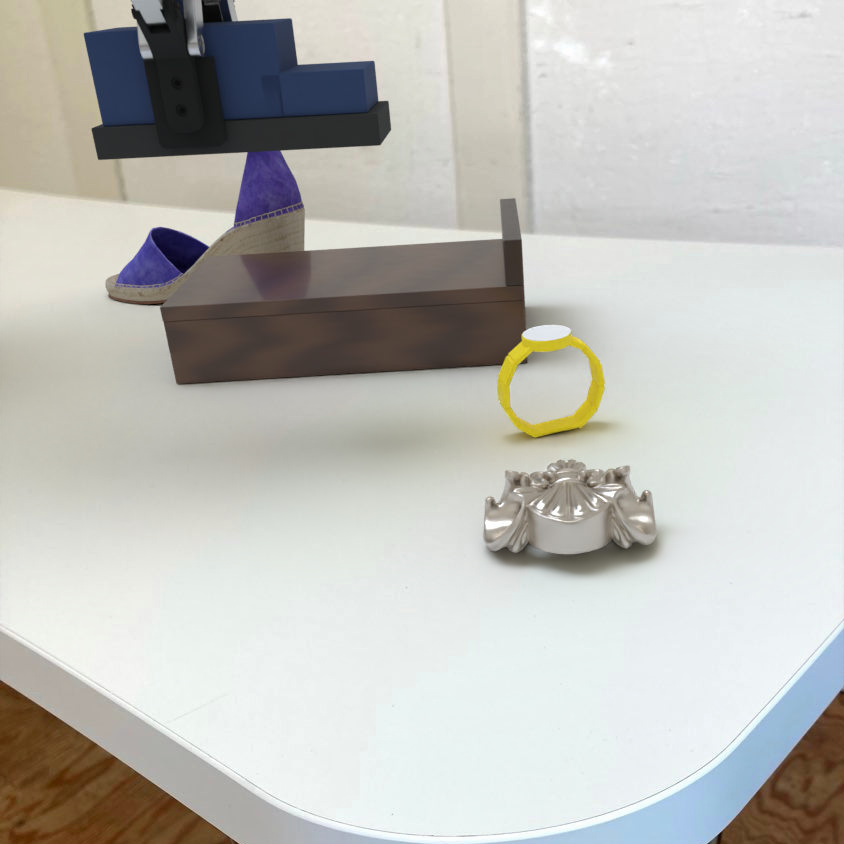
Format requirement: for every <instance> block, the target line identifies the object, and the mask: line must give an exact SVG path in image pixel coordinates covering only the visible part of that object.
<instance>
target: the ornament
mask: <svg viewBox="0 0 844 844" xmlns="http://www.w3.org/2000/svg"><path fill="white" fill-rule="evenodd" d="M630 474H631V465H628V464H627V465H622V466H618V467H616V468H608V469H606V470H603V469H601V468H595V469H594V468H593V469H591V468H590V469H587V465H586V464H585V463H584V462H582V461H579V462H577V460H575V459H574V458H571V459H567V461H566V460H565V459H559V460H557V461H556V462H555V463H554V462H551V463H550V464H549V465H547V467H546V471H543V470H542V471H534V472H533V471H532V472H531V473H530V474H529V473H528V472H526V471H525V472H524V471H521V472H518V471H515V470H505V471H504V478H505V484H504V486H503V487H504V488H503V491H502V494H501V495H500V499H499V501H498V502H497V501H496V499H495V498H494V497H493V496H487V497H486V498H485V500H484V512H483V513H484V514H483V532H482V539H483V542H484V545H485V546H486V548H487V549H488V550H490V551H492V552H498V551H500V550H501V549H503V548H507V549H508V551H510V552H512V553H514V554H516V553H520V552H521V551H523V549H524V548H526V546H527V545H528V544H529V546H531V547H533V548H534V549H536V550H539V551H541V552H546V553H551V554H557V555H558V554H559V555H577V554H585V553H589V552H592V551H597V550H600V549H602V548H605V546H608V544H609V543H611V542H614V543H615V544H616V545H618V547H620V548H622V549H624V550H625V549H629V548H631V547H632V545H633V544H634V543H639V544H640V545H643V546H650V545H651V544H653V542H654V541H655V540H656V538H657V533H658V529H657V522H656V521H657V520H656V515H655V508H654V500H653V494H652V491H650V490H648V489H647V490H646V489H645V490H643V491H642V492H641V495H640V496H638V495H637V493H636V490H635V489H634V486H633V484H632V480H631V477H630Z"/></svg>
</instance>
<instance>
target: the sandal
mask: <svg viewBox="0 0 844 844" xmlns="http://www.w3.org/2000/svg"><path fill="white" fill-rule="evenodd" d="M245 158H246V159H245V163H244V167H243V173H242V177H241V182H240V188H239V193H238V196H237V197H238V198H237V202H236V208H235V213H234V214H235V215H234V220H233V226H231V228H229V229H228V230H226V231H225V232H224V233H223V234H222V235H220V236H219V237H218V238H217V239H216V240H214V242H213V243H212V244H210V245H207V244H206V243H205V242H202V241H201V240H199V239H197V238H196V237H194V236H192V235H190V234H188V233H185V232H183V231H181V230H177V229H174V228H170V227H164V226H156V227H152V228H151V229H150V230H149V232H148V234H147V236H146V239H145V241H144V242H143V243H142V245H141V246H140V248H139V250H138V251H137V252H136V254H135V255H134V256H133V258H132V259H131V260H130V261H128V263H127V264H126V265H125V266H124V267H123V268H122V269H121V270H120V272H119V273H117V274H114V275H112V276H109V277H107V278H106V279H105V290H106V291H107V293H108V297H109V298H110V299H112V300H115V301H119V302H124V303H130V304H135V305H138V304H139V305H140V304H141V305H153V304H164V303H165V302H166V301H167V300H168V299H169V297H170V296H171V295H172V294H173V293H174V292H175V291H176V290H177V289H178V288H179V287H180V286H181V285H182V284H183V283H184V282H185V281H186V280H187V279H188V278H189V277H190V276H191V275H192V274H193V272H194V271H195V270H196V269H197V268H198V267H199V266H200V265H201V264H202V263H203V262H204V261H205V260H206V259H207V258H208V257H211V256H227V255H244V254H260V253H277V252H293V251H305V237H306V236H305V235H306V234H305V232H306V231H305V228H306V227H305V226H306V223H305V222H306V220H305V219H306V209H305V204H304V202H303V199H302V194H301V192H300V188H299V185H298V182H297V180H296V178H295V175H294V174H293V173H292V171H291V169H290V166H289V165H288V163H287V161H286V159H285V157H284V154H283V153H282V151H263V152H246V157H245Z"/></svg>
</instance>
